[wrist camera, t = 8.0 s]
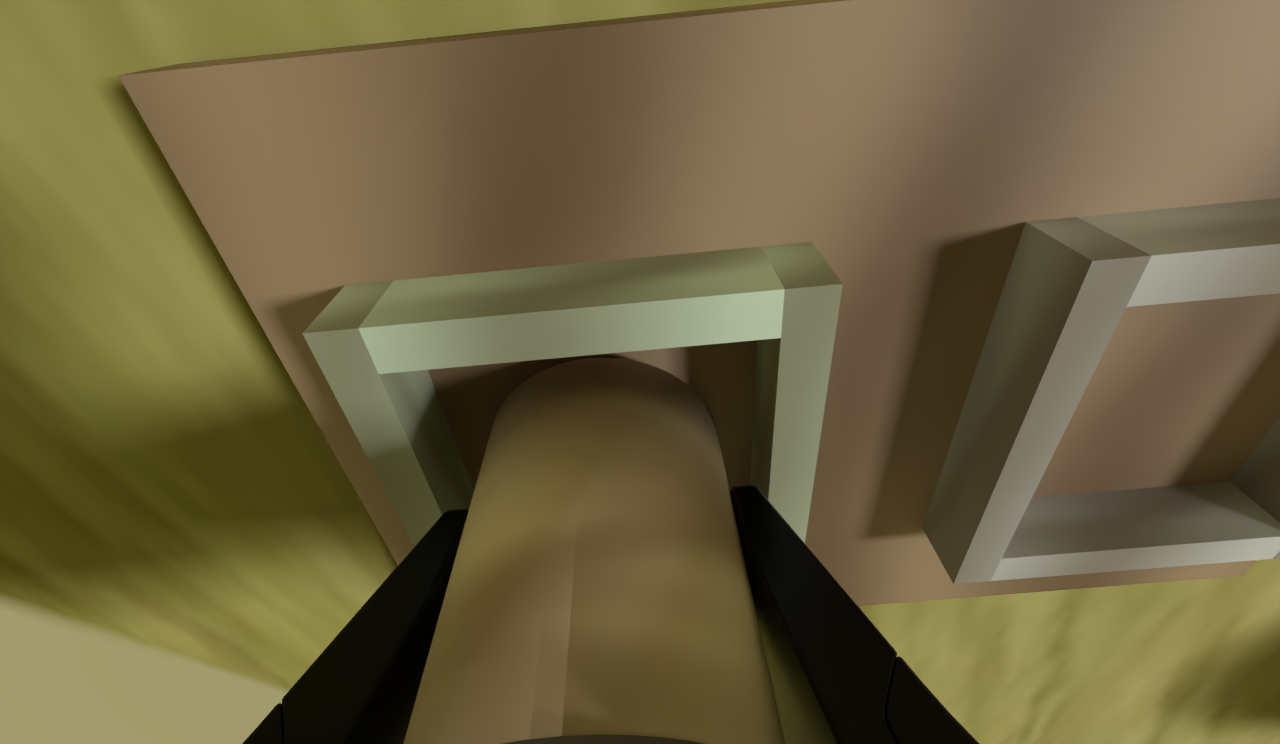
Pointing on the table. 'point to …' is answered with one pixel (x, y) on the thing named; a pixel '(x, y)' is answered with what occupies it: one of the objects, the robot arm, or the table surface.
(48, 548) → the table surface
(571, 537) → the cylinder
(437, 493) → the board
